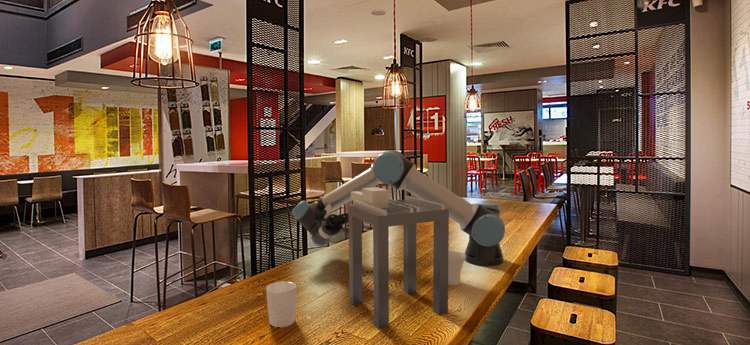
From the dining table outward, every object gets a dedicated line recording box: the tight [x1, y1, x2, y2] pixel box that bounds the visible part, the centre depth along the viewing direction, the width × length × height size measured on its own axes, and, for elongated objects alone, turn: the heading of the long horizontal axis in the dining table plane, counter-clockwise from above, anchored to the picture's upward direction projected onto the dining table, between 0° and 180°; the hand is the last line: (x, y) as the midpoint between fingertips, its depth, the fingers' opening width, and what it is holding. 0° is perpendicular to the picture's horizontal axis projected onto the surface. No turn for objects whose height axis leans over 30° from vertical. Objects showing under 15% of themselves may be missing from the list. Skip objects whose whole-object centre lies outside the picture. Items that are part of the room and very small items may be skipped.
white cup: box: [265, 281, 297, 328], centre depth 110 cm, size 8×8×10 cm
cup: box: [448, 250, 466, 286], centre depth 139 cm, size 9×9×10 cm
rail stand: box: [347, 195, 450, 330], centre depth 118 cm, size 20×22×31 cm
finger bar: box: [351, 186, 389, 208], centre depth 123 cm, size 19×5×5 cm, turn 26°
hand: (349, 206), depth 136 cm, fingers open, 13 cm apart
